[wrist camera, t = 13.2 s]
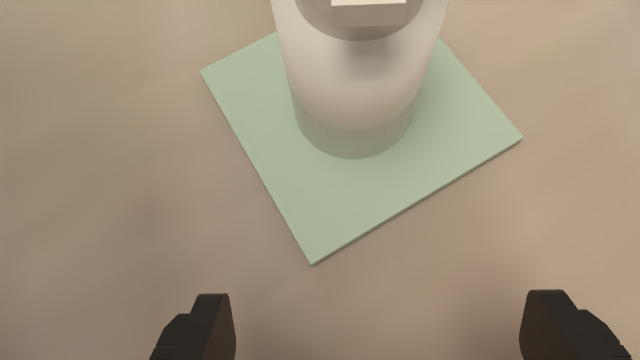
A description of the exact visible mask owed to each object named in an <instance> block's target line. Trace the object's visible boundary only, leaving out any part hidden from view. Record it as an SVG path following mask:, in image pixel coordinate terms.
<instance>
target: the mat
mask: <svg viewBox="0 0 640 360" xmlns="http://www.w3.org/2000/svg"><path fill="white" fill-rule="evenodd" d="M199 72H200V74H201V76H202V77H203V79H204V81H205V83H206V84H207V86H208V88H209V90H210V91H211V93H212V95H213V97H214V98H215V100H216V102H217V104H218V105H219V107H220V109H221V111H222V112H223V114H224V116H225V117H226V119H227V121H228V123H229V124H230V126H231V128H232V130H233V131H234V133H235V135H236V137H237V138H238V140H239V142H240V144H241V145H242V147H243V149H244V151H245V152H246V154H247V156H248V157H249V159H250V161H251V163H252V164H253V166H254V168H255V170H256V171H257V173H258V175H259V177H260V178H261V180H262V182H263V184H264V185H265V187H266V189H267V191H268V192H269V194H270V196H271V197H272V199H273V201H274V203H275V204H276V206H277V208H278V210H279V211H280V213H281V215H282V217H283V218H284V220H285V222H286V224H287V225H288V227H289V229H290V231H291V232H292V234H293V236H294V238H295V239H296V241H297V243H298V244H299V246H300V248H301V250H302V251H303V253H304V255H305V257H306V258H307V260H308V262H309V264H310V265H311V267H312V266H313V265H315V264H317V263H318V262H320V261H322V260H323V259H325V258H327V257H328V256H330V255H332V254H333V253H335V252H337V251H338V250H340V249H342V248H343V247H345V246H347V245H348V244H350V243H352V242H353V241H355V240H357V239H358V238H360V237H362V236H363V235H365V234H367V233H368V232H370V231H372V230H373V229H375V228H377V227H378V226H380V225H382V224H384V223H385V222H387V221H389V220H390V219H392V218H394V217H395V216H397V215H399V214H400V213H402V212H404V211H405V210H407V209H409V208H410V207H412V206H414V205H415V204H417V203H419V202H420V201H422V200H424V199H425V198H427V197H429V196H430V195H432V194H434V193H435V192H437V191H439V190H440V189H442V188H444V187H445V186H447V185H449V184H450V183H452V182H454V181H455V180H457V179H459V178H460V177H462V176H464V175H465V174H467V173H469V172H470V171H472V170H474V169H476V168H477V167H479V166H481V165H482V164H484V163H486V162H487V161H489V160H491V159H492V158H494V157H496V156H497V155H499V154H501V153H502V152H504V151H506V150H507V149H509V148H511V147H512V146H514V145H516V144H517V143H519V142H520V141H521V140H522V139H523V138H524V137H523V136H522V135H521V133H520V132H519V131H518V130H517V129H516V127H515V126H514V125H513V124H512V123H511V121H510V120H509V119H508V118H507V117H506V115H505V114H504V113H503V112H502V111H501V110H500V108H499V107H498V106H497V105H496V104H495V102H494V101H493V100H492V99H491V98H490V96H489V95H488V94H487V93H486V92H485V90H484V89H483V88H482V87H481V86H480V85H479V83H478V82H477V81H476V80H475V79H474V77H473V76H472V75H471V74H470V73H469V71H468V70H467V69H466V68H465V67H464V65H463V64H462V63H461V62H460V61H459V60H458V58H457V57H456V56H455V55H454V54H453V52H452V51H451V50H450V49H449V48H448V46H447V45H446V44H445V43H444V42H443V40H442V39H441V38H440V37H439V36H438V38H437V41H436V44H435V47H434V50H433V53H432V56H431V59H430V62H429V65H428V68H427V71H426V74H425V77H424V80H423V84H422V87H421V90H420V93H419V96H418V99H417V102H416V105H415V108H414V111H413V114H412V117H411V120H410V123H409V126H408V128H407V130H406V131H405V133H404V135H403V136H402V137H401V138H400V140H399V141H398V142H397V143H396V144H394V145H393V146H392V147H391V148H389V149H388V150H386V151H385V152H383V153H380V154H378V155H376V156H373V157H369V158H364V159H342V158H337V157H334V156H331V155H328V154H326V153H324V152H322V151H320V150H319V149H317V148H316V147H314V146H313V145H312V144H311V143H310V142H309V141H308V140H307V139H306V138H305V137H304V135H303V134H302V132H301V130H300V129H299V127H298V124H297V121H296V118H295V113H294V108H293V104H292V99H291V94H290V90H289V85H288V80H287V76H286V71H285V66H284V62H283V57H282V52H281V48H280V43H279V38H278V34H277V31H276V32H274V33H272V34H270V35H268V36H266V37H264V38H262V39H260V40H258V41H256V42H254V43H252V44H250V45H248V46H246V47H244V48H242V49H240V50H238V51H236V52H234V53H232V54H230V55H229V56H227V57H225V58H223V59H221V60H219V61H217V62H215V63H213V64H211V65H209V66H207V67H205V68H203V69H201V70H199Z"/></svg>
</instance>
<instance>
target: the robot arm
mask: <svg viewBox="0 0 640 360" xmlns="http://www.w3.org/2000/svg"><path fill="white" fill-rule="evenodd" d="M519 343H520V349H521V353H522V356H523V358H524V360H632V359H631V355H630V354H629V353H628V352H627V350H626V349H625V348H624V346H623V345H620V341H619V340H618V339H617V337H616V336H615V335H614V334H613V332H612V331H611V330H610V328H609V327H608V326H607V325H606V324H605V323H604V322H602V321H601V320H600V319H598V318H597V317H596V316H594V315H593V314H592V313H590V312H589V311H588V310H578V309H577V308H576V306H575V305H574V303H573V302H572V301H571V299H570V298H569V297H568V295H567V294H566V293H565V292H564V291H563V290H560V289H558V290H530V291H529V293H528V295H527V299H526V304H525V309H524V313H523V318H522V323H521V328H520V333H519ZM235 350H236V336H235V329H234V323H233V318H232V312H231V306H230V300H229V296H228V294H226V293H224V294H199V295H198V296H197V298H196V301H195V303H194V305H193V308H192V310H191V312H190V314H178V315H177V316H176V317H175V318H174V319H173V320H172V321H171V322H170V323H169V324H168V325H167V326H166V327H165V328H164V329H163V331H162V334H161V336H160V338H159V340H158V342H157V344H156V348H154V350H153V352H152V354H151V356H150V359H149V360H234V357H235Z"/></svg>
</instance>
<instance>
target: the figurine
mask: <svg viewBox="0 0 640 360" xmlns="http://www.w3.org/2000/svg"><path fill="white" fill-rule="evenodd" d="M270 1H271V6H272V10H273V15H274V20H275V24H276V29H277V34H278V38H279V43H280V48H281V52H282V57H283V62H284V66H285V71H286V76H287V80H288V85H289V90H290V94H291V99H292V104H293V108H294V113H295V118H296V121H297V124H298V127H299V129H300V130H301V132H302V134H303V135H304V137H305V138H306V139H307V140H308V141H309V142H310V143H311V144H312V145H313V146H314V147H316V148H317V149H319V150H320V151H322V152H324V153H326V154H328V155H331V156H334V157H337V158H342V159H364V158H369V157H373V156H376V155H378V154H380V153H383V152H385V151H386V150H388V149H389V148H391V147H392V146H393V145H394V144H396V143H397V142H398V141H399V140H400V138H401V137H402V136H403V135H404V133H405V131H406V130H407V128H408V126H409V123H410V120H411V117H412V114H413V111H414V108H415V105H416V102H417V99H418V96H419V93H420V90H421V87H422V84H423V80H424V77H425V74H426V71H427V68H428V65H429V62H430V59H431V56H432V53H433V50H434V47H435V44H436V41H437V38H438V35H439V32H440V29H441V26H442V22H443V19H444V16H445V13H446V10H447V7H448V3H449V0H270Z"/></svg>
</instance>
